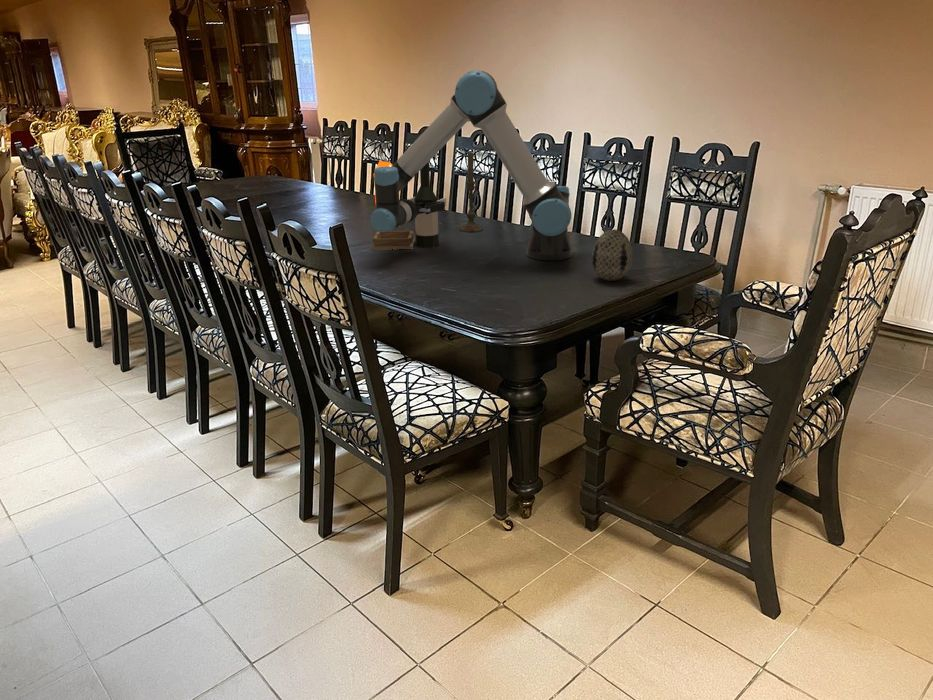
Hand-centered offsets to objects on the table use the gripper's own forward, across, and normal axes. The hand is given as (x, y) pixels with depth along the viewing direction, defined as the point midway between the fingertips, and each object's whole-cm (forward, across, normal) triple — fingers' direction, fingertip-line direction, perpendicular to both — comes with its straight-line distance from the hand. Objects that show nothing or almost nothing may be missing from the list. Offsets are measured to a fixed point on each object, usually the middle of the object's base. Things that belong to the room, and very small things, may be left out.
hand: (430, 200), depth 246 cm
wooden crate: (-9, -11, -15) cm, 21 cm away
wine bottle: (-4, 0, -15) cm, 16 cm away
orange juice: (+59, -50, -15) cm, 79 cm away
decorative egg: (-26, +70, -15) cm, 77 cm away
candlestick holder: (+24, +6, -15) cm, 29 cm away
